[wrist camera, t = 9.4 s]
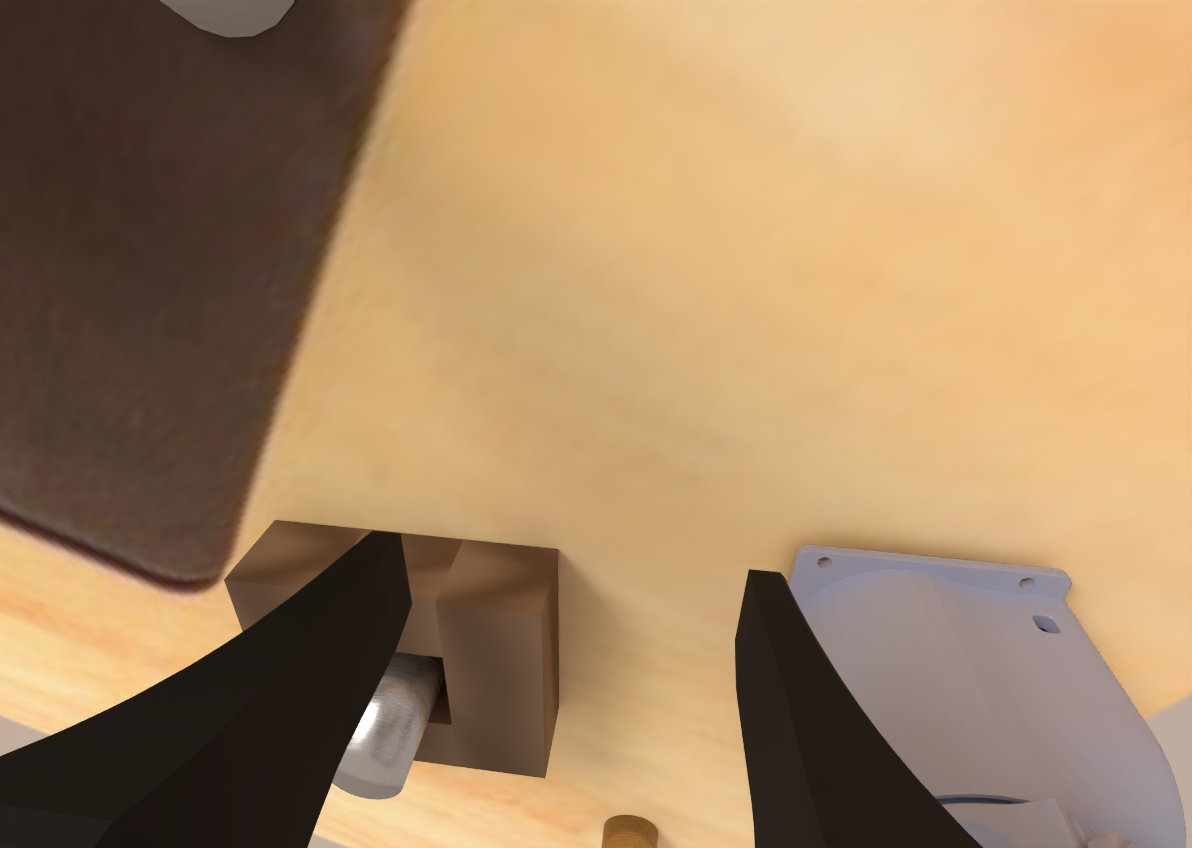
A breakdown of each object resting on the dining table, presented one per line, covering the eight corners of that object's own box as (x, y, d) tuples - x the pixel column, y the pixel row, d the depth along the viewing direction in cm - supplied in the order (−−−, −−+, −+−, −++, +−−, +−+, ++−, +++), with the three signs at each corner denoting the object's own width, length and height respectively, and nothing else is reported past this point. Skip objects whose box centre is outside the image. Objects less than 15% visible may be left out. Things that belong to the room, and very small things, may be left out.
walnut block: (557, 549, 26) (541, 615, 23) (558, 707, 31) (544, 778, 28) (274, 520, 27) (224, 579, 24) (320, 677, 32) (282, 742, 29)
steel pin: (460, 608, 29) (401, 758, 23) (460, 653, 30) (405, 805, 24) (394, 596, 29) (318, 743, 23) (397, 642, 30) (327, 790, 24)
